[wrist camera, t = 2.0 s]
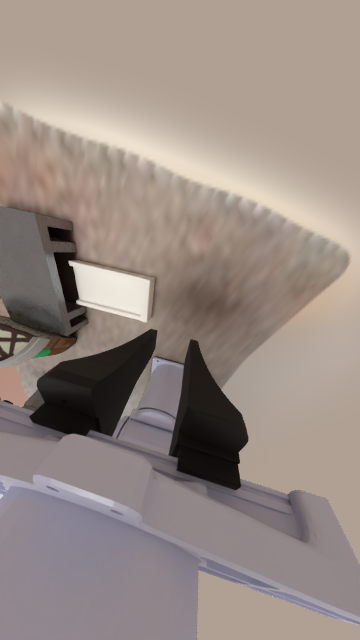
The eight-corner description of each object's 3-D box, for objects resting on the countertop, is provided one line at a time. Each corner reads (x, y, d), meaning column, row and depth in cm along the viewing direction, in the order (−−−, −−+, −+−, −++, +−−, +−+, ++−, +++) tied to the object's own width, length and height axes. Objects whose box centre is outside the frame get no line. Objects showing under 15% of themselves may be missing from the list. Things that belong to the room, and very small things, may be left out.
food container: (9, 348, 26) (-84, 349, 17) (28, 319, 28) (-49, 305, 18) (68, 370, 26) (8, 384, 17) (83, 341, 28) (37, 338, 18)
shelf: (71, 221, 18) (34, 213, 14) (88, 323, 25) (66, 336, 21) (6, 208, 19) (-47, 195, 15) (41, 311, 26) (12, 321, 22)
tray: (155, 277, 19) (149, 280, 17) (151, 317, 22) (146, 322, 21) (79, 260, 20) (67, 260, 18) (85, 300, 23) (75, 304, 21)
